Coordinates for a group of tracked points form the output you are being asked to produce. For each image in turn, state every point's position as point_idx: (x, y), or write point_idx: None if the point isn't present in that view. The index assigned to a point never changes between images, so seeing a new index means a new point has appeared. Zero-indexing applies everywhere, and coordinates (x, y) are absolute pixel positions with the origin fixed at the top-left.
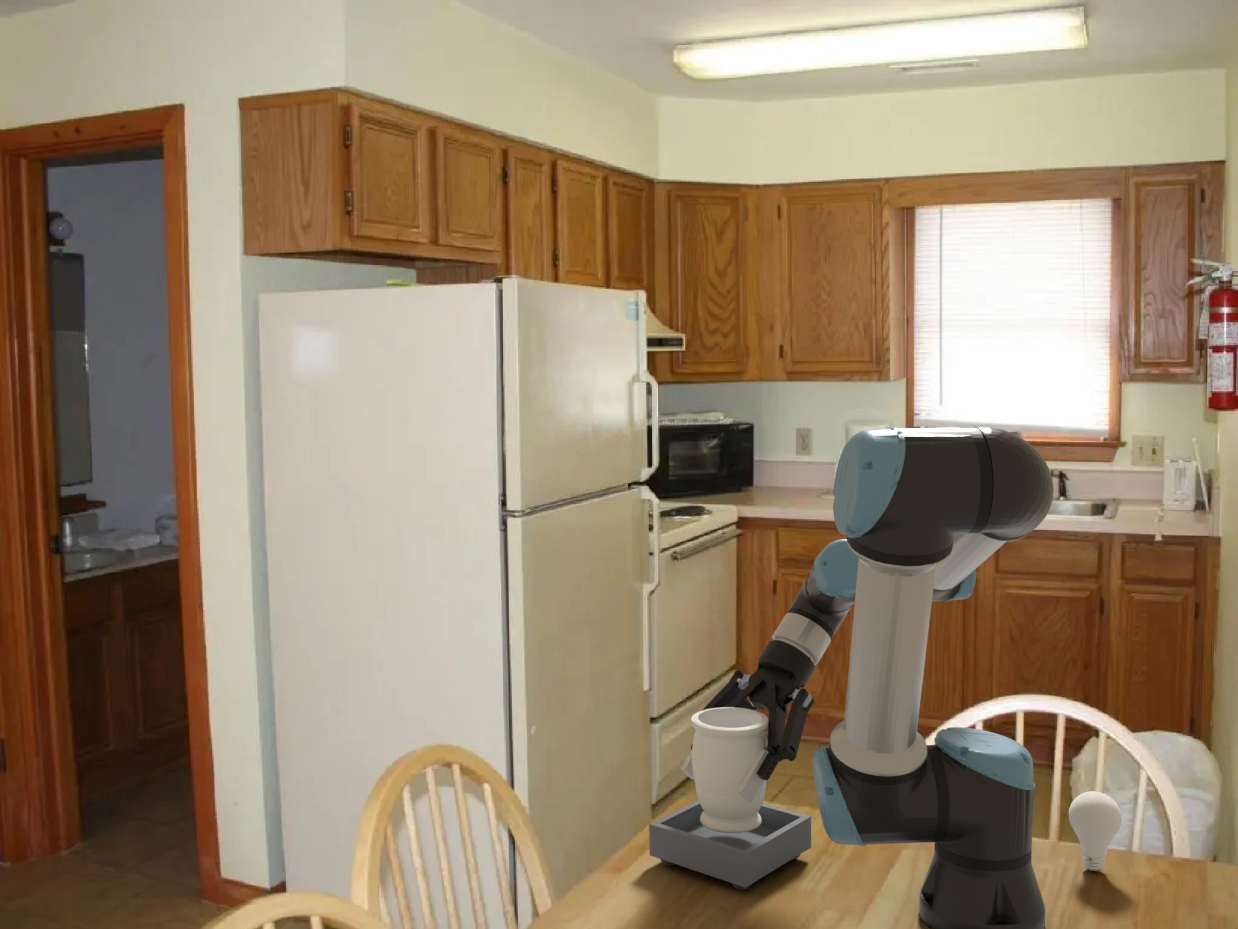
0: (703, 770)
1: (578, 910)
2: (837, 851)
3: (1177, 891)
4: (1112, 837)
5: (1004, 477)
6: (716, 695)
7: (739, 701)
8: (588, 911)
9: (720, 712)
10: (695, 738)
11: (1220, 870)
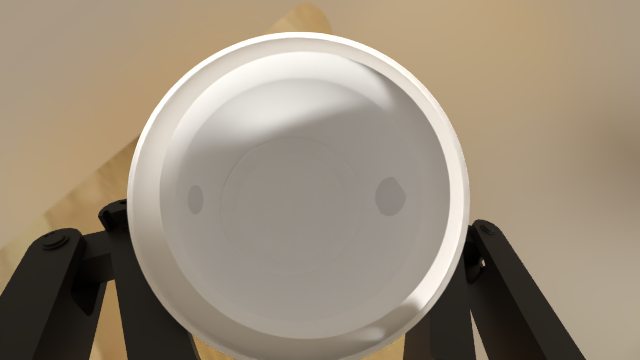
0: (297, 110)
1: (305, 22)
2: (207, 345)
3: None
4: None
5: None
6: (565, 331)
7: (437, 355)
8: (297, 26)
9: (438, 251)
10: (362, 100)
11: None
